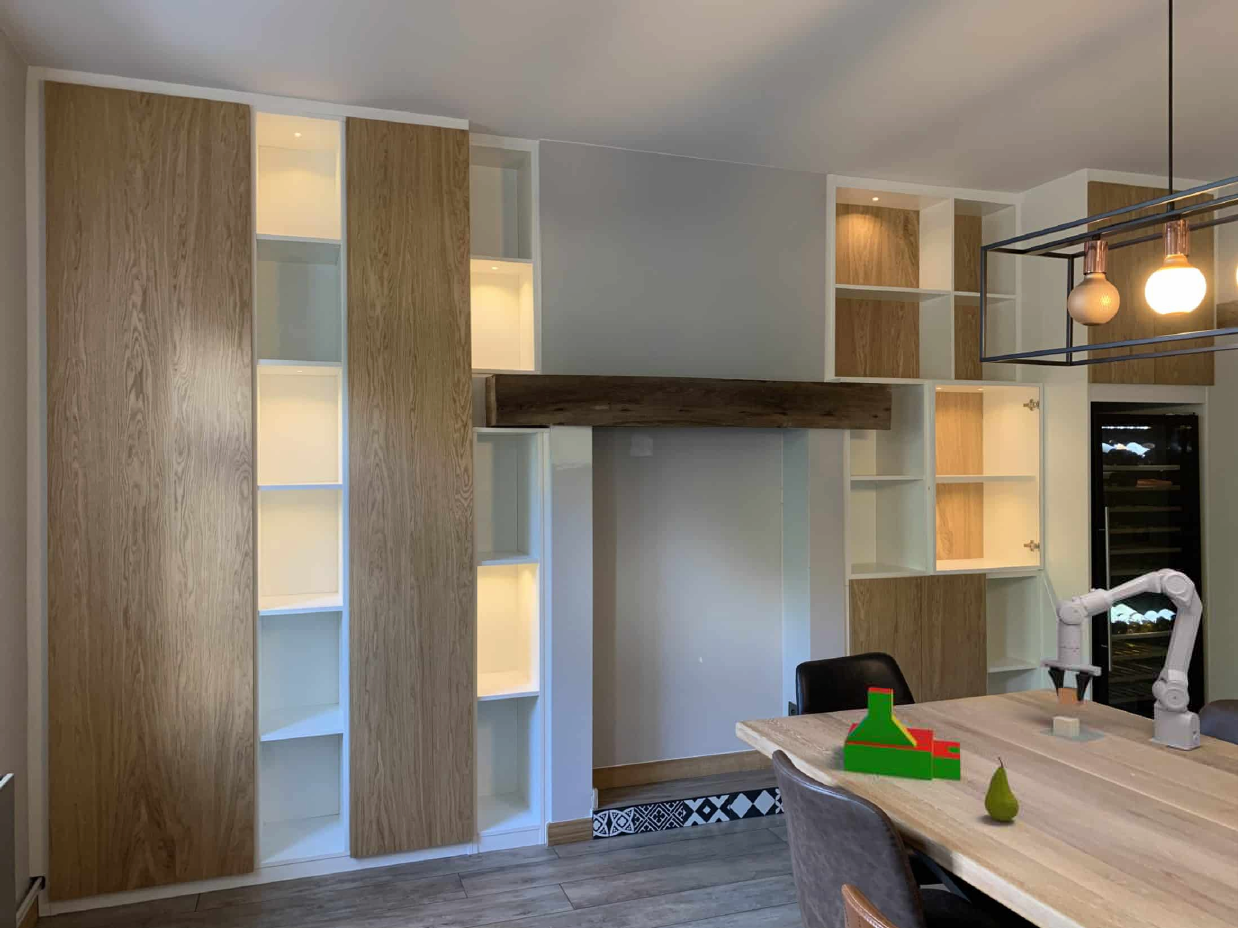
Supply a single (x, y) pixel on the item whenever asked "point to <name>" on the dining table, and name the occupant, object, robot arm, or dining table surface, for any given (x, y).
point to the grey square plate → (1081, 737)
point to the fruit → (1001, 797)
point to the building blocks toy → (897, 745)
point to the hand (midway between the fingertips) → (1070, 698)
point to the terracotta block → (1068, 696)
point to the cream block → (1066, 726)
